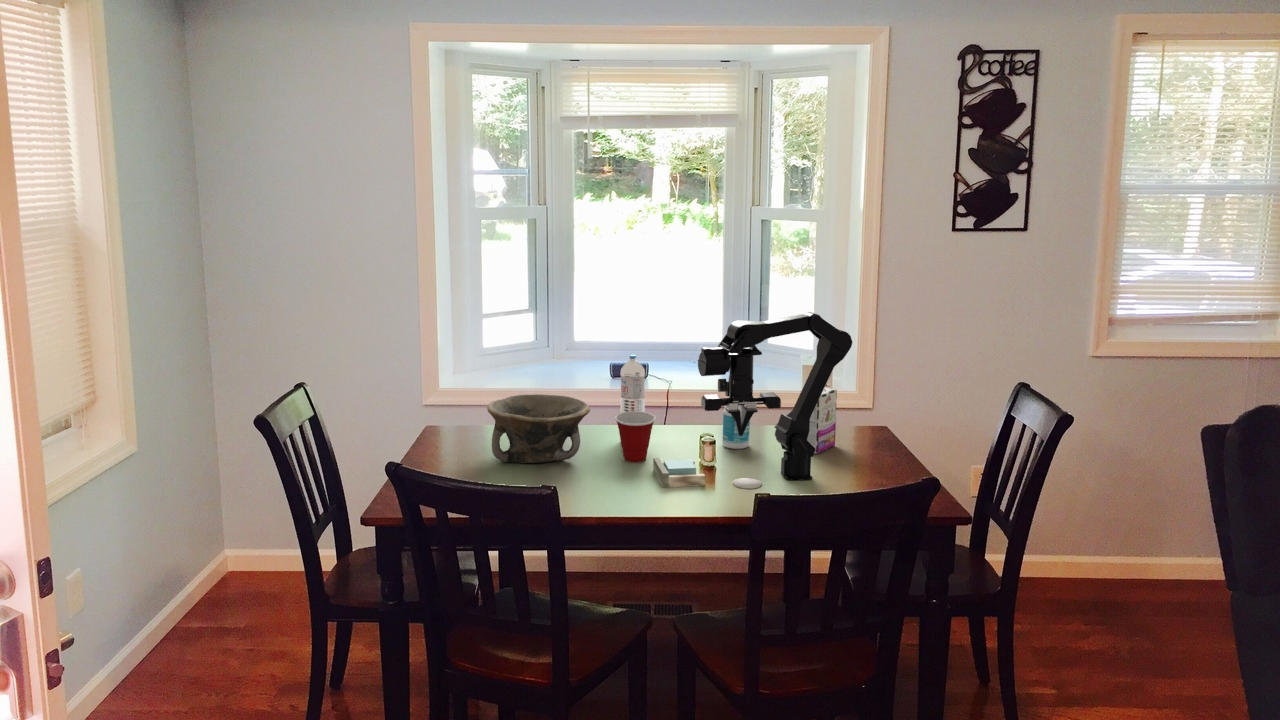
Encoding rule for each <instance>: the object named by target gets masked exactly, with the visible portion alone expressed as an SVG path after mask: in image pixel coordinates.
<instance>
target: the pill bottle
mask: <svg viewBox="0 0 1280 720" xmlns="http://www.w3.org/2000/svg"><path fill="white" fill-rule="evenodd" d="M733 402H738V401H733ZM738 409H739V410H740V412H741V405H738ZM722 415H723V417H722V422H723V423H722V445H723V447H725V448H727V449H732V450H733V449H734V450H741V449H745V448H747V447H749V445H750V426H751V419H750V420H749V422H748V424H747V426H746V429H745V431H744V433H743V436H739V435H738V432H737V429H736V426H735V423H734V420H733V417H732V415H731V413H728V412H727V411H726V410H725V409H724V408H723V414H722Z"/></svg>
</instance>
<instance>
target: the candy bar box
mask: <svg viewBox="0 0 1280 720" xmlns="http://www.w3.org/2000/svg"><path fill="white" fill-rule="evenodd" d="M837 391H838V389H835V388H832V387H826V386H825V387H824V390H823V392H822V394H821V396H820V398H819V400H818V402H817V405H816V407H815V409H814V411H813V413H812V415H811V417H810V431H809V435H808V438H807V441H808V442H809V443H810V444H811V445H812V446H813V447H814V448H815V449H816V450H815V453H814V455H819V454H821V453H823V452H825V451H827V450H829V449H831V448H834V446H836V430H837V429H836V428H837V427H836V424H837V420H836V419H837V397H838V396H837ZM828 448H829V449H828ZM826 449H827V450H826ZM824 450H825V451H824ZM822 451H823V452H822ZM820 452H821V453H820ZM818 453H819V454H818Z"/></svg>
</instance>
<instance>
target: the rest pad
mask: <svg viewBox="0 0 1280 720" xmlns="http://www.w3.org/2000/svg"><path fill="white" fill-rule="evenodd" d="M732 485H733V486H734V487H736V488H739V489H747V490H749V489H750V490H751V489H752V490H753V489H757V488H759V487H761V486H762V482H761V480H758V479H757V478H750V477H749V478H748V477H741V478H736V479H734V480H732Z"/></svg>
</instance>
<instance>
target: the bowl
mask: <svg viewBox="0 0 1280 720" xmlns="http://www.w3.org/2000/svg"><path fill="white" fill-rule="evenodd" d="M486 408H487V412H488V414H490V416H491V417H492V418H493V419H494V427H493V432H492V436H491V452H492V454H493V456H494V457H495V459H497V460H499V461H500V462H503V463H517V464H518V463H519V464H541V463H549V462H561V461H566V460H570V459H571V458H573V457H574V456H575V455H576V454H577V453H578V451H579V449H580V446H581V435H580V430H579V424H580V423H581V421H582V420H583V419H584V418H585V417H586V416H587V415H588V414H589V413H590V412H591V408H590V406H589V405H588V404H587V402H585V401H583V400H581V399H578V398H575V397H571V396H567V395H560V394H559V395H558V394H556V395H555V394H541V393H540V394H539V393H537V394H535V393H534V394H517V395H511V396H510V395H509V396H508V397H507V396H506V397H505V398H501V399H496V400H492V401H491V402H490V403H489V404H488V406H487V407H486ZM503 434H506V437H507V440H508V442H509V448H508V449H507V450H505V451H504V450H502V448H501V444H500V442H501V437H502V436H503ZM568 437H569V438H570V441H571V447H570V448H569V449H568V450H565V449H564V445H565V442H566V440H567V439H568Z"/></svg>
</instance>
